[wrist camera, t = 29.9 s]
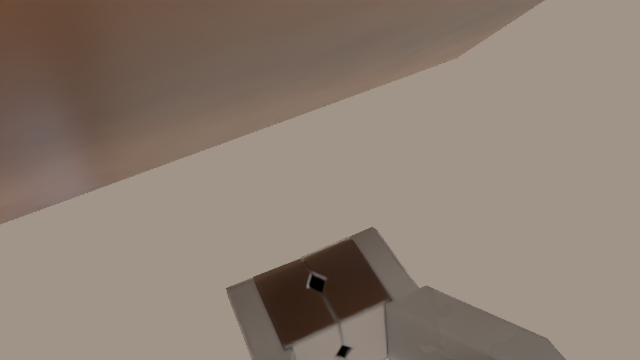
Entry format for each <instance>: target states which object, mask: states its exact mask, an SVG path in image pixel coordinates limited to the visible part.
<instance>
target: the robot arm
mask: <svg viewBox="0 0 640 360" xmlns="http://www.w3.org/2000/svg"><path fill="white" fill-rule="evenodd" d="M226 289H227V294H228V298H229V300H230V303H231V305H232V308H233V311H234V313H235V316H236V318H237V321H238V324H239V327H240V329H241V332H242V334H243V337H244V340H245V342H246V345H247V347H248V350H249V353H250V356H251V358H252V360H385V359H387V358H389V360H565V358H564V357H563V356H562V355H561V354H560V352H558V350H557V349H556V348H555V347H554V346H553V345H552V344H551V342H550V341H549V340H548V339H547V338H545V337H543V336H540V335H538V334H536V333H533V332H531V331H529V330H527V329H524V328H522V327H520V326H517V325H515V324H513V323H510V322H508V321H506V320H504V319H501V318H499V317H497V316H495V315H492V314H490V313H488V312H486V311H483V310H481V309H479V308H476V307H474V306H472V305H470V304H467V303H465V302H463V301H460V300H458V299H456V298H453V297H451V296H449V295H447V294H444V293H442V292H440V291H438V290H435V289H433V288H431V287H428V286H424V287H422V288H419V287H418V286H417V284H416V283H415V282H414V280H413V279H412V278H411V276H410V275H409V273H408V272H407V271H406V269H405V268H404V267H403V265H402V264H401V262H400V261H399V259H398V258H397V257H396V255H395V254H394V253H393V251H392V250H391V249H390V247H389V246H388V244H387V243H386V242H385V240H384V239H383V237H382V236H381V235H380V233H379V232H378V231H377V230H376V229H375V228H373V227H371V228H369V229H366V230H364V231H362V232H360V233H357V234H355V235H352V236H350V237H346V238H344V239H342V240H339V241H337V242H335V243H332V244H330V245H328V246H325V247H323V248H321V249H319V250H316V251H314V252H312V253H310V254H307V255H305V256H303V257H301V259H298V260H296V261H293V262H291V263H288V264H285V265H283V266H280V267H278V268H275V269H273V270H270V271H268V272H265V273H262V274H260V275H257V276H255V277H253V279H252V278H250V279H247V280H245V281H242V282H240V283H238V284H235V285H233V286H230V287H228V288H226Z"/></svg>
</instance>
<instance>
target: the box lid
mask: <svg viewBox="0 0 640 360" xmlns="http://www.w3.org/2000/svg"><path fill="white" fill-rule="evenodd" d="M542 1H544V0H0V224H2V223H5V222H8V221H11V220H14V219H16V218H19V217H22V216H25V215H27V214H30V213H33V212H36V211H38V210H41V209H44V208H46V207H49V206H52V205H55V204H57V203H60V202H63V201H66V200H69V199H71V198H74V197H77V196H79V195H82V194H85V193H88V192H90V191H93V190H96V189H98V188H101V187H104V186H107V185H110V184H112V183H115V182H118V181H121V180H123V179H126V178H129V177H131V176H134V175H137V174H140V173H142V172H145V171H148V170H151V169H153V168H156V167H159V166H162V165H164V164H167V163H170V162H173V161H175V160H178V159H181V158H184V157H186V156H189V155H192V154H195V153H198V152H200V151H203V150H206V149H209V148H211V147H214V146H217V145H220V144H222V143H225V142H228V141H231V140H233V139H236V138H239V137H241V136H244V135H247V134H250V133H252V132H255V131H258V130H261V129H263V128H266V127H269V126H271V125H274V124H277V123H280V122H283V121H285V120H288V119H291V118H294V117H296V116H299V115H302V114H305V113H307V112H310V111H313V110H315V109H318V108H321V107H324V106H327V105H329V104H332V103H335V102H338V101H340V100H343V99H346V98H349V97H351V96H354V95H357V94H360V93H362V92H365V91H368V90H370V89H373V88H376V87H379V86H382V85H384V84H387V83H390V82H392V81H395V80H398V79H401V78H404V77H406V76H409V75H412V74H414V73H417V72H420V71H423V70H425V69H428V68H431V67H434V66H436V65H439V64H442V63H445V62H447V61H450V60H453V59H456V58H458V57H459V56H461V55H462V54H464V53H465V52H467V51H468V50H470V49H471V48H473V47H474V46H476V45H477V44H479V43H480V42H482V41H483V40H485V39H486V38H488V37H489V36H491V35H492V34H494V33H495V32H497V31H499V30H500V29H502V28H503V27H504V26H506V25H508V24H509V23H511V22H512V21H513V20H515V19H517V18H518V17H520V16H521V15H523V14H524V13H526V12H527V11H529V10H530V9H532V8H533V7H535V6H536V5H538V4H539V3H541V2H542Z"/></svg>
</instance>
